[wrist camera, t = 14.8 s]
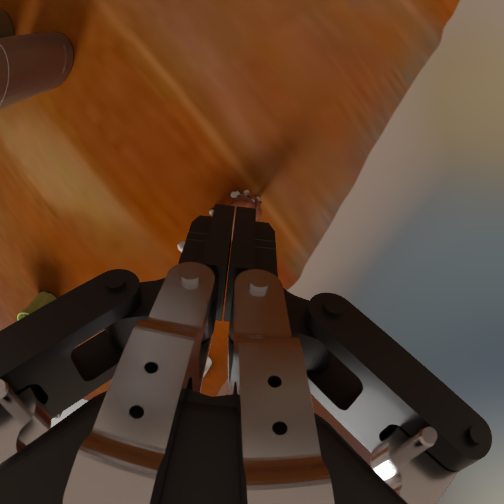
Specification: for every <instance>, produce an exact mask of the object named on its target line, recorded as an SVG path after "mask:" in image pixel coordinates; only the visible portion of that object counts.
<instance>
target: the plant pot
mask: <svg viewBox="0 0 504 504" xmlns="http://www.w3.org/2000/svg"><path fill="white" fill-rule="evenodd" d="M55 299H57V298H56V297H55V296H54V295H52V294H51V293H47V292H45V291H42V292H40V293H39V294H38V295H37V296H36V298H35V299H34V300H33V301H32V302H31V303H30V305H29V306H28V307H27V308H26V309H25V310H23V311H22V312H20V313H19V314H18V315H17V320H20V319H22V318H24V317H25V316H27V315H29V314H30V313H32V312H34V311H36V310H37V309H39V308H41V307H43V306H44V305H46V304H48V303H50V302H52V301H53V300H55Z"/></svg>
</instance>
